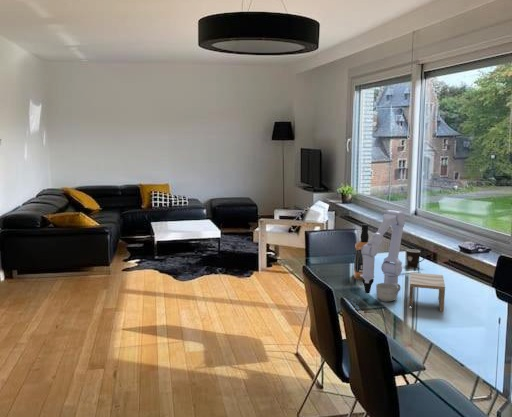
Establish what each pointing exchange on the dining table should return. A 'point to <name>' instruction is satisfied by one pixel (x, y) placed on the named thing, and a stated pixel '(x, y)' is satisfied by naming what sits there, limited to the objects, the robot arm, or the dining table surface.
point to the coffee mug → (413, 257)
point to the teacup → (387, 291)
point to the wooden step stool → (428, 285)
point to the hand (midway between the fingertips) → (367, 292)
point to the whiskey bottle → (358, 254)
